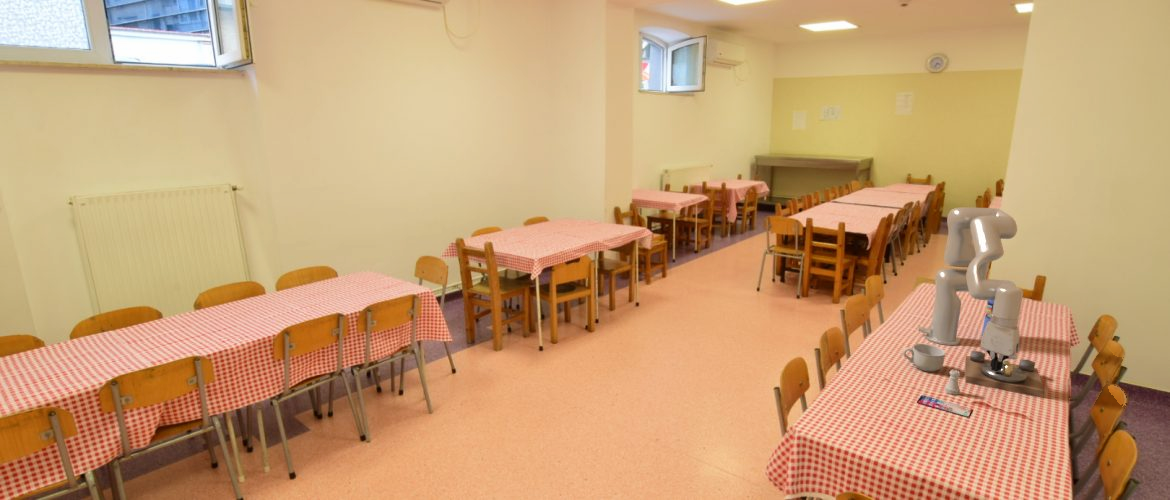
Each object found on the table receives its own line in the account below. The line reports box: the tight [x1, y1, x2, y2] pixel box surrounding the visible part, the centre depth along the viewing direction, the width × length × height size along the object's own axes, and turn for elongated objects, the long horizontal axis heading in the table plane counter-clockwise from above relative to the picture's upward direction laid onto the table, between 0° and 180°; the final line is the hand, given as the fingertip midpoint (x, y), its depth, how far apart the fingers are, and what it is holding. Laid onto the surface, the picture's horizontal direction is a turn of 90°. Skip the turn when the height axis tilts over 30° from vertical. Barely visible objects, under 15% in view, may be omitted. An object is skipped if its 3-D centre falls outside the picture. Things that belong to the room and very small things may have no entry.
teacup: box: [902, 343, 946, 373], centre depth 216 cm, size 14×11×8 cm
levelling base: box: [964, 350, 1045, 399], centre depth 207 cm, size 22×22×6 cm
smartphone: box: [916, 395, 974, 418], centre depth 187 cm, size 8×1×15 cm
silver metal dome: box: [981, 363, 1027, 384], centre depth 203 cm, size 13×13×6 cm
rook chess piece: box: [944, 369, 961, 396], centre depth 196 cm, size 4×4×8 cm
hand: (995, 369), depth 201 cm, fingers closed
